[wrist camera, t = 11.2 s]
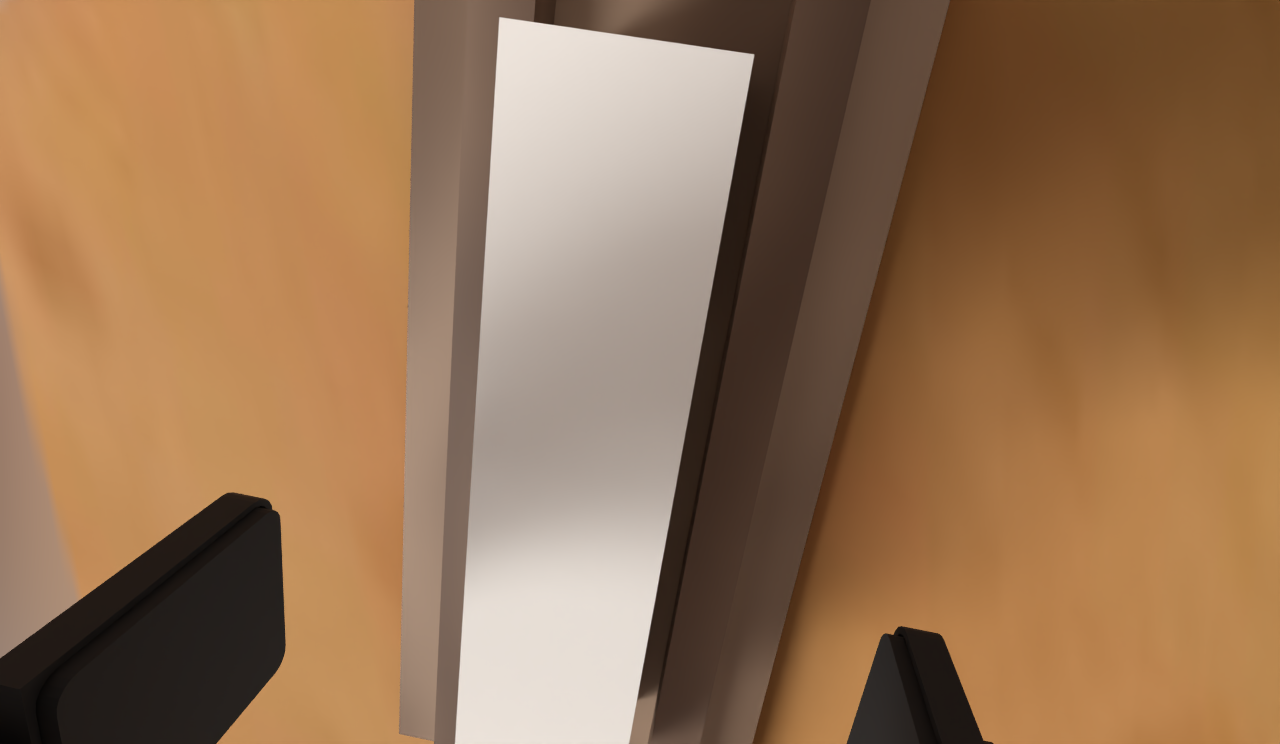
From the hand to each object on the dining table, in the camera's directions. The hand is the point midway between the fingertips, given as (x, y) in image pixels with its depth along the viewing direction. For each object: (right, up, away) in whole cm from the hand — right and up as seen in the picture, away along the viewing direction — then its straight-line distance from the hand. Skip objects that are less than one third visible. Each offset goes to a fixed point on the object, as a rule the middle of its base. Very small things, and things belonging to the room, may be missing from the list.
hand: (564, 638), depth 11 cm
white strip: (+1, +3, +6) cm, 7 cm away
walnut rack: (+1, +3, +7) cm, 8 cm away
